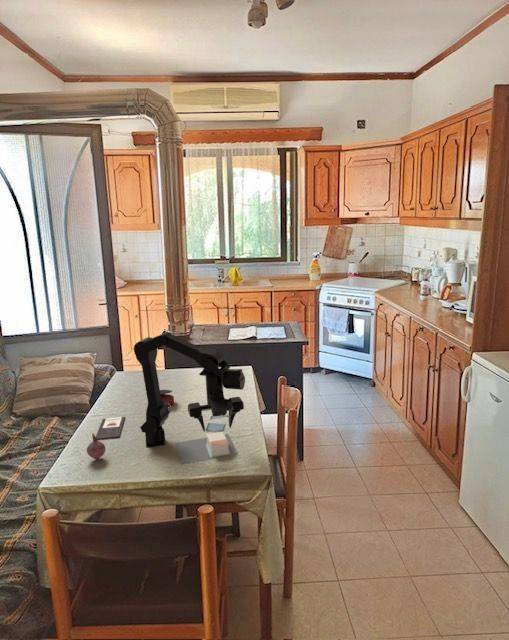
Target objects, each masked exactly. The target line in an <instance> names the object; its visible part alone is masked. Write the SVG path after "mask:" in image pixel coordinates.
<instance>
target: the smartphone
mask: <svg viewBox="0 0 509 640" xmlns="http://www.w3.org/2000/svg"><path fill="white" fill-rule="evenodd" d="M224 418H229V415H227V414H226V415H219V416H213V415H211V416H210V418H209V420H217V419H224ZM226 426H227V423H215V422H208V423H207V424H206V426H205V432H211V433H217V432H224V431H225V428H226Z"/></svg>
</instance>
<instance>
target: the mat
mask: <svg viewBox="0 0 509 640" xmlns="http://www.w3.org/2000/svg"><path fill="white" fill-rule="evenodd" d="M224 435H225V437H226V439H227V441H228V449H229V454H223V455H217V456H211V453H210V451H209V448H208V445H207V437H202V438H201V437H200V438H196V439H190V440H184V441H183V440H182V441H176V442H174V444H175V449H176V452H177V457H178V460H179V461H178V462H179V464H180V465H187V464H191V463H196V462H197V463H198V462H203V461H208V460H214V459H220V458H226V457H230V456H231V457H232V456H237V455H239V452H238V451H237V448H236V446H235V445H234V443H233V441H232V439H231V437H230V435H229V433H228V434H224Z"/></svg>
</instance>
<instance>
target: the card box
mask: <svg viewBox="0 0 509 640" xmlns="http://www.w3.org/2000/svg"><path fill="white" fill-rule="evenodd" d="M225 435H226V434H225V433H224V431H222V432H211V433H206V438H207V445H208V448H209V451H210V453H211V456H217V455H223V454H229V449H228V441H227V439H226V437H225Z"/></svg>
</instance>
